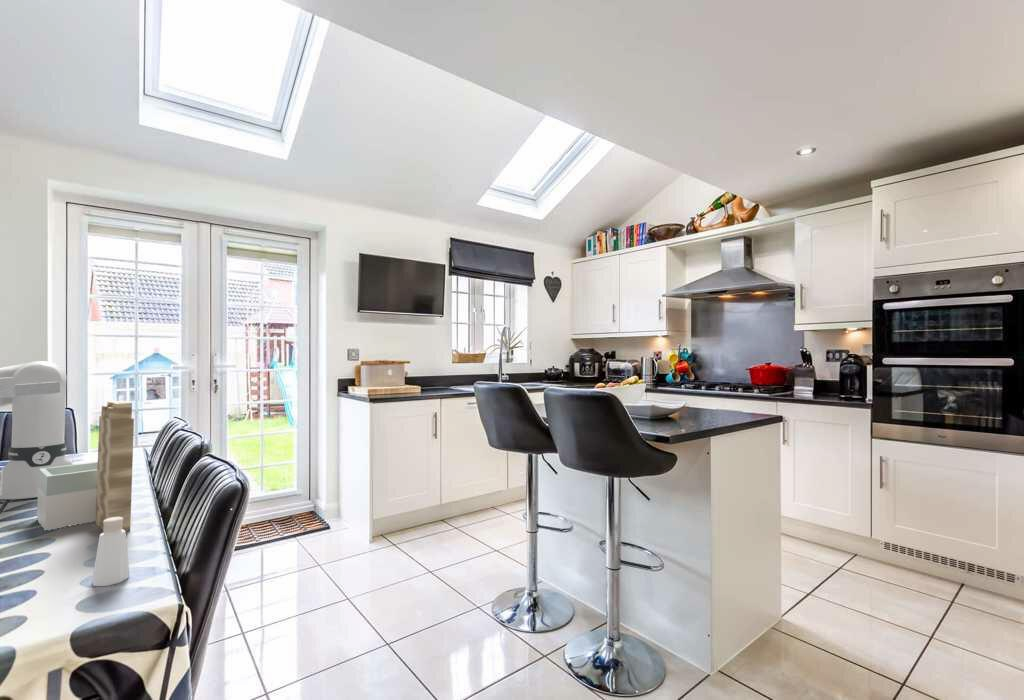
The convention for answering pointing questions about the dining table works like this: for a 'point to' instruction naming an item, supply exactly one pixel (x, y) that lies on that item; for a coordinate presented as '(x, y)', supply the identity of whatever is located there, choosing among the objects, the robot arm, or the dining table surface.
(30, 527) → the dining table surface
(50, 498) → the raised tray
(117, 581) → the pepper shaker
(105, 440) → the tan wooden tall block
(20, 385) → the bar
